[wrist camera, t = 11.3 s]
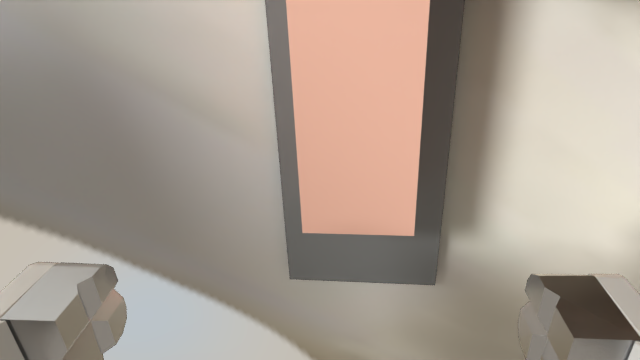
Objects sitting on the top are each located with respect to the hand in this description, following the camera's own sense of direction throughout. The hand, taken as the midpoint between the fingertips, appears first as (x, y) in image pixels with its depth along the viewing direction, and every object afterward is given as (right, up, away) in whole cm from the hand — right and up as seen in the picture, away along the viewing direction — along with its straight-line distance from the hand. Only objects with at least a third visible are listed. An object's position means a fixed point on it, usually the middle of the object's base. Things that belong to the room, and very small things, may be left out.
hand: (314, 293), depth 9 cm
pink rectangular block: (+2, +8, +7) cm, 11 cm away
